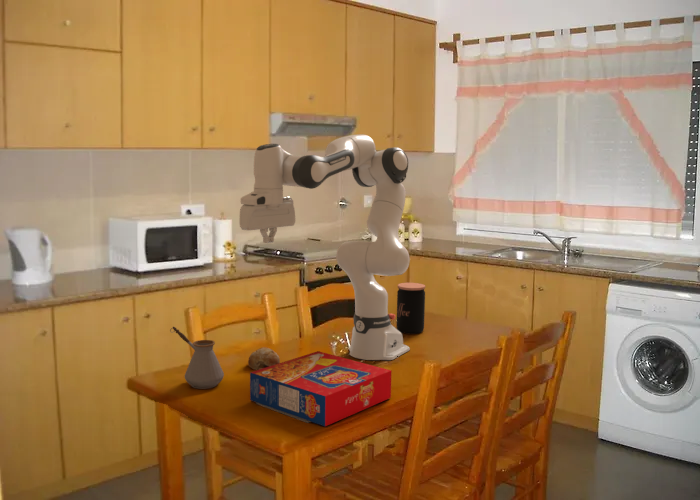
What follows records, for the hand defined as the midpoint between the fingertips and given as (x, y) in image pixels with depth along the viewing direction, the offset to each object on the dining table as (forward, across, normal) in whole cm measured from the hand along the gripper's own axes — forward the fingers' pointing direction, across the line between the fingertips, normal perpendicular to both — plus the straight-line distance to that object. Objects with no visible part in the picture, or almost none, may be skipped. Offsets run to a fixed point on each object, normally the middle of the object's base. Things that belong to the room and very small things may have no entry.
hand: (268, 242), depth 221 cm
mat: (+41, +8, +29) cm, 51 cm away
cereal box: (+36, +8, +16) cm, 41 cm away
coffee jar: (+41, -71, +3) cm, 82 cm away
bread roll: (+41, -2, -5) cm, 42 cm away
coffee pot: (+41, +22, -9) cm, 47 cm away
